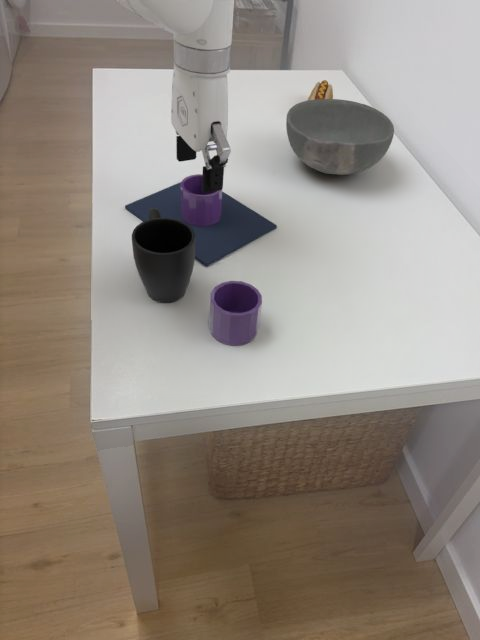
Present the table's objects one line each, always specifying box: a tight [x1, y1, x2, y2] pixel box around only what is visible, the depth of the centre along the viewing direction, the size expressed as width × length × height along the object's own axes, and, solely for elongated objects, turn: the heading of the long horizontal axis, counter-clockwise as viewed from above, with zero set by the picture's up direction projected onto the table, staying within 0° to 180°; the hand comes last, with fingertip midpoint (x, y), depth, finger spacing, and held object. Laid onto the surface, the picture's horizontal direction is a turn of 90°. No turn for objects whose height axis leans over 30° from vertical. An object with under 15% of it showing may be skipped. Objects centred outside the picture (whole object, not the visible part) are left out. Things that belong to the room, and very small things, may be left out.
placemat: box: [124, 181, 278, 267], centre depth 88 cm, size 20×16×1 cm
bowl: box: [285, 98, 395, 176], centre depth 101 cm, size 20×20×10 cm
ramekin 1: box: [180, 173, 223, 227], centre depth 86 cm, size 7×7×6 cm
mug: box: [131, 208, 196, 304], centre depth 73 cm, size 8×12×10 cm
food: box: [307, 79, 334, 101], centre depth 120 cm, size 14×6×5 cm, turn 169°
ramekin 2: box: [209, 280, 263, 347], centre depth 70 cm, size 7×7×6 cm
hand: (198, 174), depth 82 cm, fingers open, 9 cm apart
